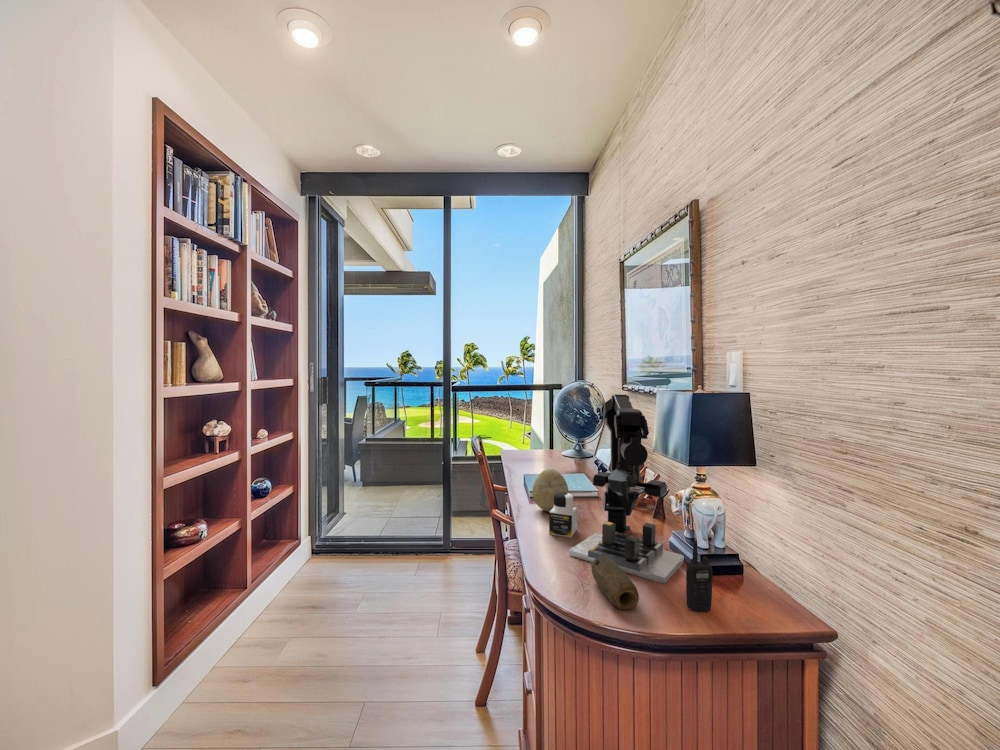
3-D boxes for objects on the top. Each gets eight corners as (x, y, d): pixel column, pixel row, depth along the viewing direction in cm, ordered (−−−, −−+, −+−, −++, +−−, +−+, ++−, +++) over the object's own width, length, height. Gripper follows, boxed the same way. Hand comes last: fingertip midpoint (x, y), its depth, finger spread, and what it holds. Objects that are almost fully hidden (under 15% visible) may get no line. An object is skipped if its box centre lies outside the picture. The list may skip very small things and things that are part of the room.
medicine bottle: (548, 534, 141) (549, 495, 141) (555, 526, 148) (555, 489, 148) (571, 537, 139) (572, 498, 138) (577, 529, 145) (577, 492, 145)
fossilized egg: (570, 516, 157) (570, 473, 157) (533, 516, 157) (533, 473, 157) (565, 505, 170) (566, 464, 170) (531, 504, 170) (531, 464, 170)
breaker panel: (596, 537, 139) (596, 510, 139) (685, 560, 123) (685, 530, 123) (568, 556, 126) (568, 526, 125) (663, 584, 110) (664, 550, 109)
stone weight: (585, 582, 111) (585, 554, 111) (612, 579, 113) (612, 552, 113) (614, 615, 97) (614, 584, 96) (644, 611, 98) (645, 580, 98)
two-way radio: (689, 612, 98) (690, 542, 97) (680, 601, 102) (681, 534, 102) (715, 612, 98) (716, 542, 97) (704, 601, 102) (705, 534, 102)
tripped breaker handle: (606, 539, 129) (607, 520, 129) (615, 541, 128) (615, 522, 128) (602, 542, 127) (602, 523, 127) (610, 544, 126) (610, 525, 125)
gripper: (583, 458, 123) (583, 516, 123) (653, 468, 111) (652, 532, 112) (601, 451, 131) (601, 505, 132) (668, 460, 120) (667, 519, 120)
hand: (628, 515), depth 124 cm, fingers closed
